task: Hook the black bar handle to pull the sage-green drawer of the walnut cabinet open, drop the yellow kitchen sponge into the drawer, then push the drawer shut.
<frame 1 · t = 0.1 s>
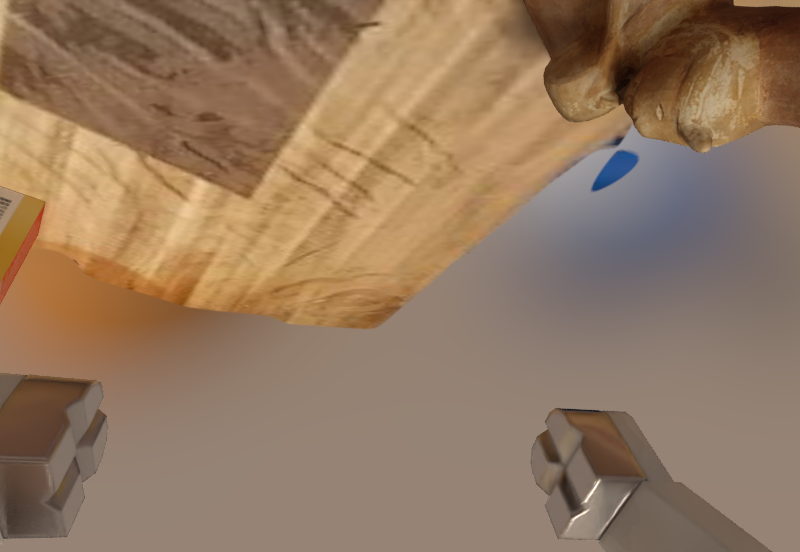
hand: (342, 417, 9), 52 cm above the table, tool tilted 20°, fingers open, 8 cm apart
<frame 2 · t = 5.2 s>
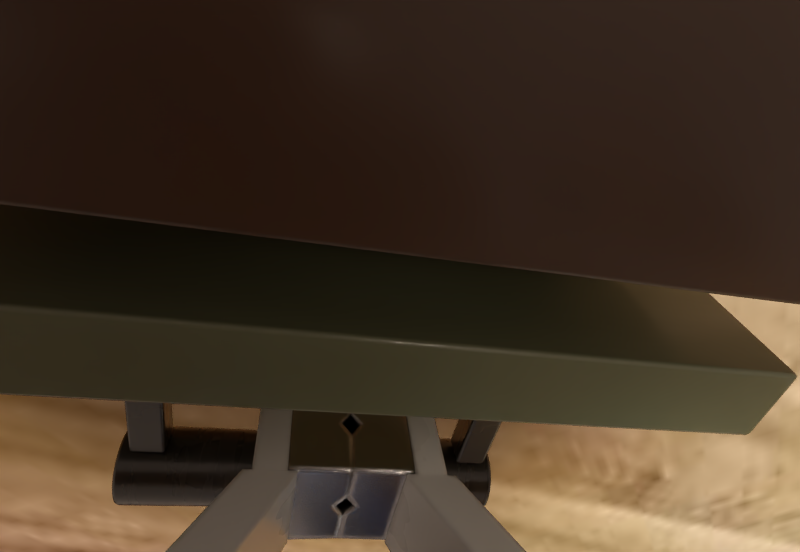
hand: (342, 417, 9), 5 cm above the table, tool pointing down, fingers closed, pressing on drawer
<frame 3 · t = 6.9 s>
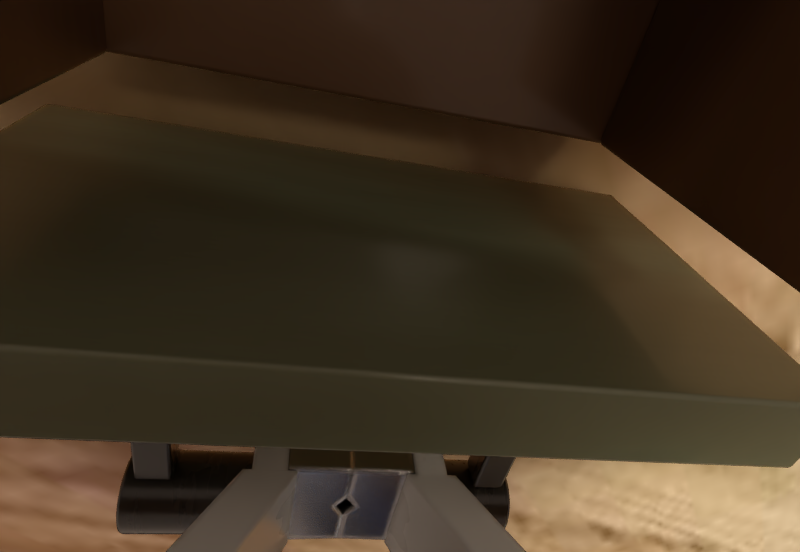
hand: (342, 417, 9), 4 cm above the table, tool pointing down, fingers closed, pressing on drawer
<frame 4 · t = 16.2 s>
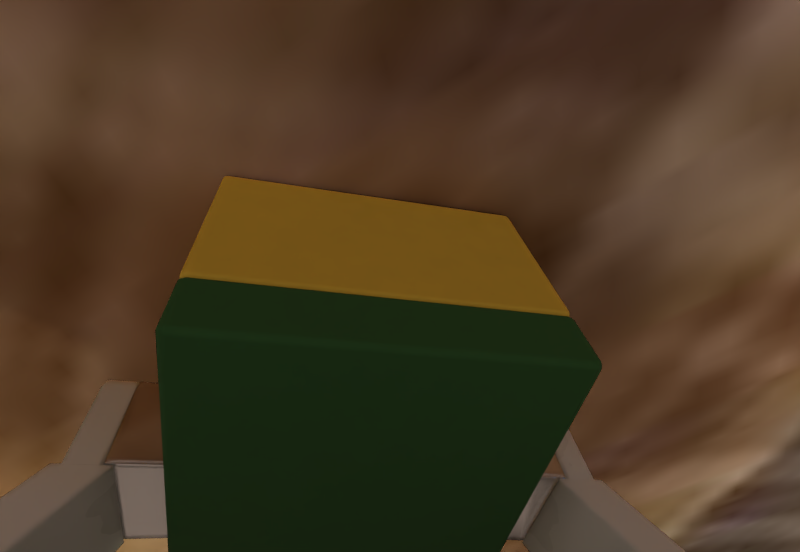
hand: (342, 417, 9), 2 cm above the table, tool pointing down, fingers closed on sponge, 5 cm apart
sponge: (342, 357, 11), on the table, touching gripper
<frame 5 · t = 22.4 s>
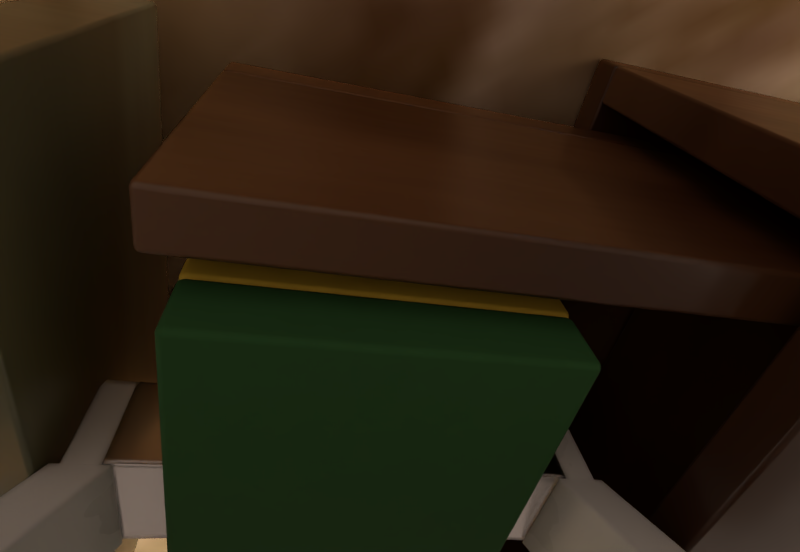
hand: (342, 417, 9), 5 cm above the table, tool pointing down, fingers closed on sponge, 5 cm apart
drawer: (292, 369, 10), point 4 cm above the table, slide at 9.1 cm, touching gripper
cabinet: (722, 311, 16), on the table
sponge: (342, 358, 11), point 4 cm above the table, touching gripper
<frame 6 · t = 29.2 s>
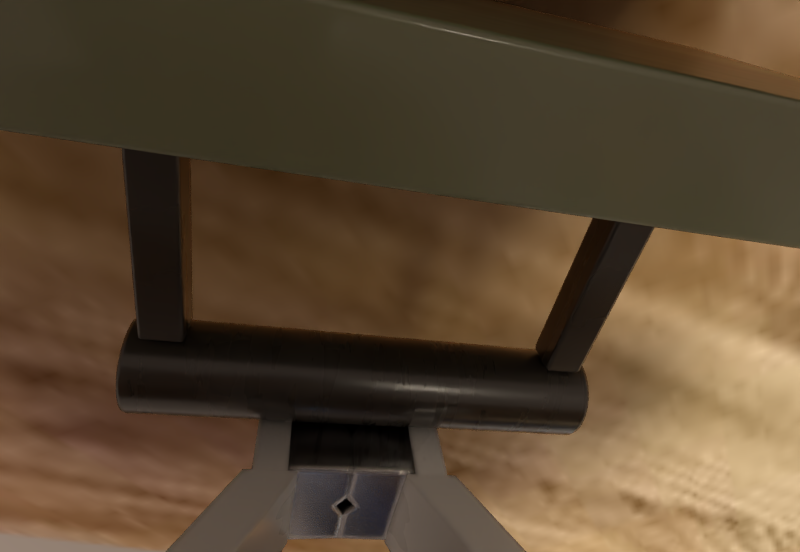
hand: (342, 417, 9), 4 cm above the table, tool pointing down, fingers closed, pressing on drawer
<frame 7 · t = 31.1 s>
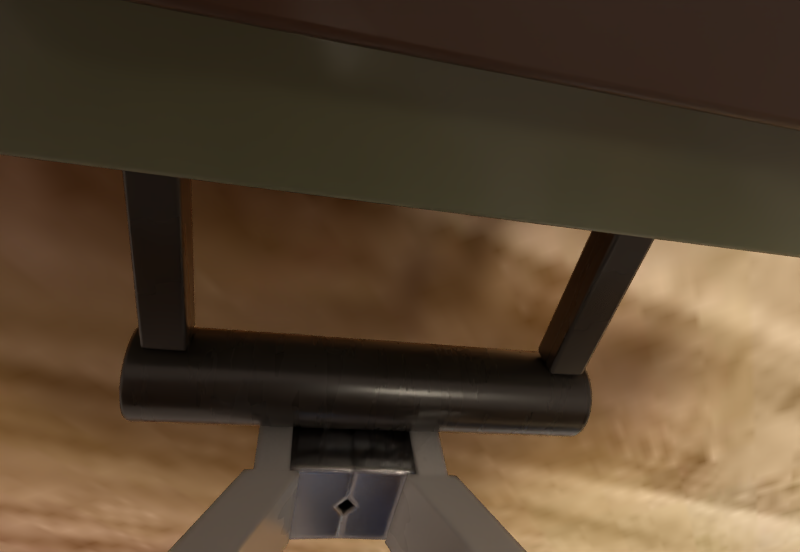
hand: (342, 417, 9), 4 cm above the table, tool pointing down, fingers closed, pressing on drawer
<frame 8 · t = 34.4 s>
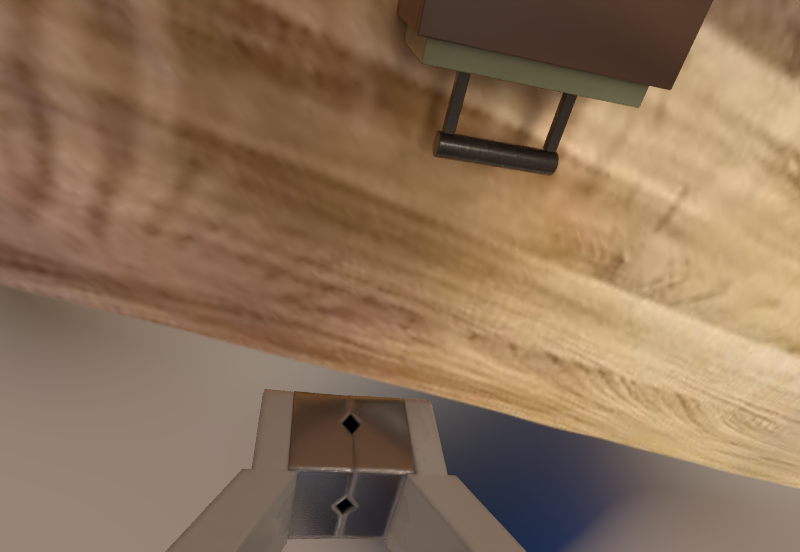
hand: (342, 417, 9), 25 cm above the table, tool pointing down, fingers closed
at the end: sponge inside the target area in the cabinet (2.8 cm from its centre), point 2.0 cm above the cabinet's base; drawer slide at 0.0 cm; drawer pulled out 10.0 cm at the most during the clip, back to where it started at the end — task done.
